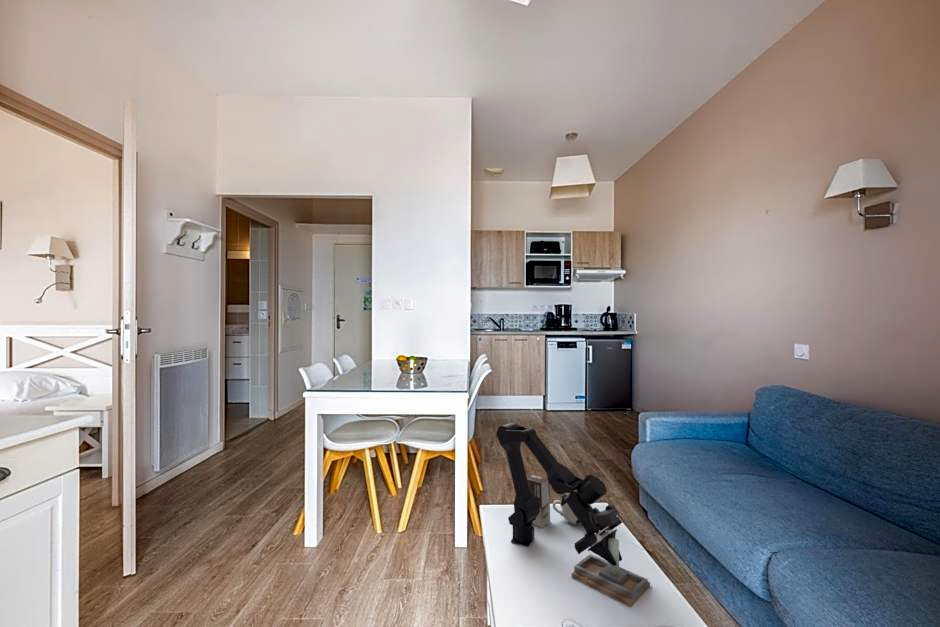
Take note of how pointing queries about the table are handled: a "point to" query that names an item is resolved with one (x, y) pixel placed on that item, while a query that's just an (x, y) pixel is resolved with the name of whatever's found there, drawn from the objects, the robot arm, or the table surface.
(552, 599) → the table surface
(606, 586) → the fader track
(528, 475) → the coffee box
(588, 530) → the robot arm
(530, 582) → the table surface
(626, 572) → the fader knob
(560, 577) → the table surface
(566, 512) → the teacup
